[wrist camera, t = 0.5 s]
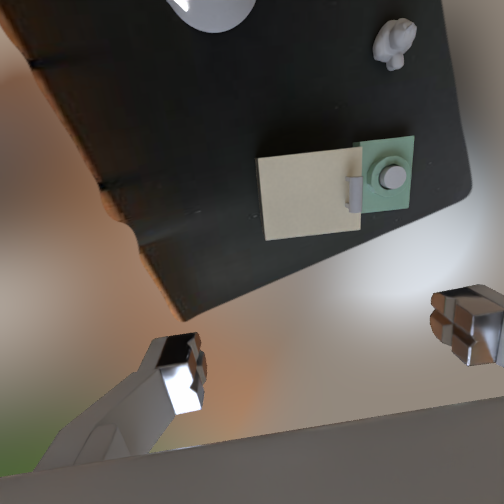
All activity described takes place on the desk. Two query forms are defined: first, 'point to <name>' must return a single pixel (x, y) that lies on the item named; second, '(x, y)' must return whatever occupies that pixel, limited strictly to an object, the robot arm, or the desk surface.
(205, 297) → the desk surface
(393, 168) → the flush button
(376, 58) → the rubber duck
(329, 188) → the beige cover lid
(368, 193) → the green button base
